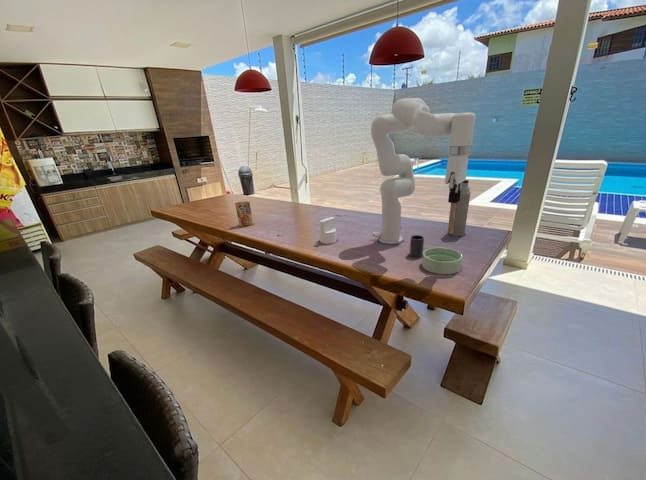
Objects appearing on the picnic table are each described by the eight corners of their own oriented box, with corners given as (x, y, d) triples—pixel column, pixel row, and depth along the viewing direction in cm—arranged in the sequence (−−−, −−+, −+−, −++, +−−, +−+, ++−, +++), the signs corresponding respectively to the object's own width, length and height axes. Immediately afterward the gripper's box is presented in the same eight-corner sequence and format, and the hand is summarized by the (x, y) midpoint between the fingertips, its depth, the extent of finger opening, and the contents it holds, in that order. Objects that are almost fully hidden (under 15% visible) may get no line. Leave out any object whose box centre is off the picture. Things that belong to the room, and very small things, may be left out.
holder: (410, 258, 139) (411, 239, 136) (409, 253, 145) (410, 235, 141) (423, 258, 138) (424, 239, 135) (421, 253, 144) (423, 235, 140)
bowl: (424, 275, 124) (425, 261, 121) (419, 259, 137) (420, 247, 135) (464, 276, 121) (466, 262, 119) (456, 260, 135) (457, 247, 132)
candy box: (253, 222, 203) (249, 200, 197) (253, 224, 200) (249, 201, 193) (239, 224, 202) (235, 201, 195) (239, 226, 198) (234, 202, 192)
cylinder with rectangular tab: (328, 236, 171) (327, 215, 166) (340, 240, 165) (339, 218, 160) (316, 241, 166) (315, 219, 160) (328, 245, 160) (327, 222, 155)
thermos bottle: (452, 236, 160) (459, 182, 148) (445, 231, 168) (452, 179, 155) (467, 235, 161) (475, 181, 149) (460, 230, 168) (467, 178, 156)
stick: (448, 233, 122) (453, 187, 115) (447, 231, 124) (452, 186, 116) (453, 233, 122) (458, 187, 114) (452, 231, 124) (457, 186, 116)
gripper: (456, 148, 118) (451, 196, 125) (441, 153, 107) (436, 205, 115) (477, 148, 113) (470, 198, 121) (463, 153, 102) (456, 207, 110)
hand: (453, 201), depth 118 cm, fingers closed on stick, 2 cm apart
